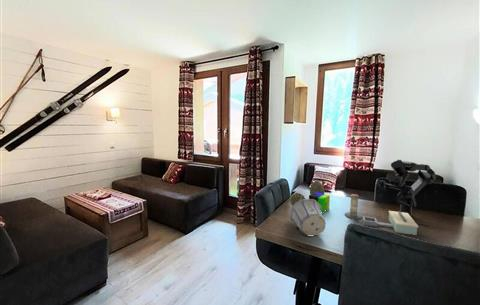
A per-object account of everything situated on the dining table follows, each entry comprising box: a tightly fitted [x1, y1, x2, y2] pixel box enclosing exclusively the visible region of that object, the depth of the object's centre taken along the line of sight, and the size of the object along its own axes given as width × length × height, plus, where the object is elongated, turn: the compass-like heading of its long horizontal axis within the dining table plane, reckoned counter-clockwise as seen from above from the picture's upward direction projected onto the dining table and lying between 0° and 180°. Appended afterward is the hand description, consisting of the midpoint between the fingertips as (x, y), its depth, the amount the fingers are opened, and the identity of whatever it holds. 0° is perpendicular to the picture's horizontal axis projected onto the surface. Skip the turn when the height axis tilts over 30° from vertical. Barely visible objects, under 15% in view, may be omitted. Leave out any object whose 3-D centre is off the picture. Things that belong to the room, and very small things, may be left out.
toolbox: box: [361, 210, 419, 236], centre depth 128 cm, size 19×24×6 cm
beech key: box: [349, 193, 360, 217], centre depth 140 cm, size 5×5×13 cm
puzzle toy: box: [308, 192, 331, 213], centre depth 152 cm, size 10×10×10 cm
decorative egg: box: [309, 180, 325, 195], centre depth 171 cm, size 11×11×15 cm
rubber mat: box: [344, 211, 363, 220], centre depth 141 cm, size 10×10×1 cm
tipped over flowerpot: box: [289, 192, 327, 236], centre depth 127 cm, size 18×18×30 cm
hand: (388, 198), depth 133 cm, fingers open, 9 cm apart
